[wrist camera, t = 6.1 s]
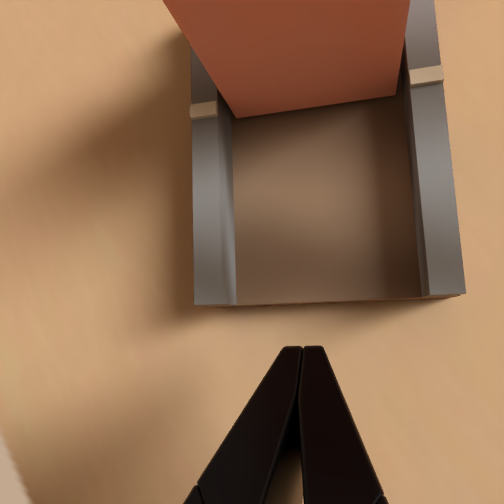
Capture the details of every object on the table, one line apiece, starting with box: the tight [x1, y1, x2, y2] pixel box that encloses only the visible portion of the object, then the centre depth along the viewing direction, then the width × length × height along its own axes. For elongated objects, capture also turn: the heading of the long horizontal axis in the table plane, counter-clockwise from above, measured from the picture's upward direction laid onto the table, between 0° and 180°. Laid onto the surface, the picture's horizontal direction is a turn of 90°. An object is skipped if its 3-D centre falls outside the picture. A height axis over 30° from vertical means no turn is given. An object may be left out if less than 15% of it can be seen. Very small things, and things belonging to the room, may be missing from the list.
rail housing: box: [190, 0, 466, 307], centre depth 16 cm, size 14×9×4 cm, turn 2°
